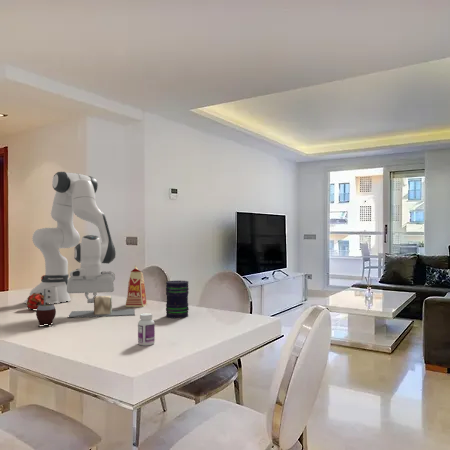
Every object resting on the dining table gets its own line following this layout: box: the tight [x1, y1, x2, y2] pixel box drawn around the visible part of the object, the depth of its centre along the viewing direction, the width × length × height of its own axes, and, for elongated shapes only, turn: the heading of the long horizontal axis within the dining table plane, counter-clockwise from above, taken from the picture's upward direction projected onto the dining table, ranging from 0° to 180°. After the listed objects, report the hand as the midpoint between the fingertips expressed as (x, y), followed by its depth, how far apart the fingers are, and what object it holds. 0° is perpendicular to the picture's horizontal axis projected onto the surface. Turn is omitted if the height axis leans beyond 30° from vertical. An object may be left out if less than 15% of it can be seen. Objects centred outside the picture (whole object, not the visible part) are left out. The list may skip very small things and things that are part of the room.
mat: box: [68, 308, 136, 318], centre depth 189 cm, size 28×14×1 cm, turn 103°
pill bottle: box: [137, 312, 156, 347], centre depth 138 cm, size 5×5×10 cm
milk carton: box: [124, 265, 148, 308], centre depth 211 cm, size 9×9×20 cm
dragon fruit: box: [26, 293, 48, 310], centre depth 199 cm, size 8×8×12 cm
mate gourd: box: [35, 289, 57, 326], centre depth 165 cm, size 8×8×15 cm
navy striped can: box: [165, 280, 190, 319], centre depth 184 cm, size 10×10×15 cm
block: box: [93, 295, 113, 315], centre depth 189 cm, size 7×7×7 cm
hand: (90, 302), depth 188 cm, fingers closed
